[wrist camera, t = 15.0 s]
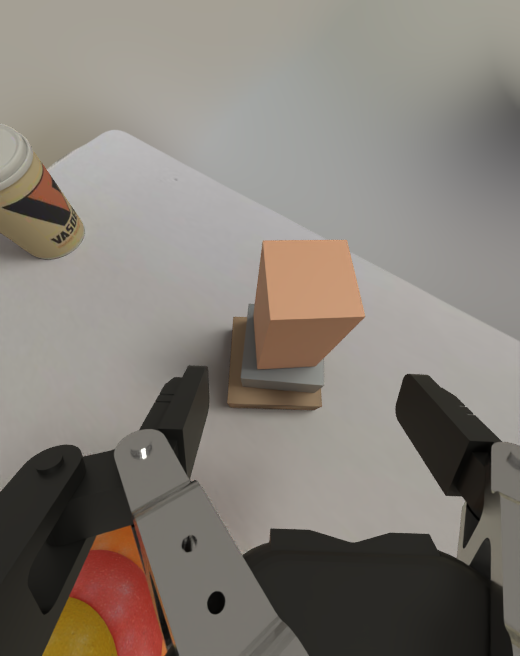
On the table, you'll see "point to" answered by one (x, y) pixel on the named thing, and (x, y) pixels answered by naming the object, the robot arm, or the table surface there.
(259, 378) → the tower top
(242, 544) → the table surface
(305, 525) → the table surface
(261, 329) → the pillar
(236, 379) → the tower base
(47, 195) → the coffee cup
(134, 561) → the stacking toy
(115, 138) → the table surface
